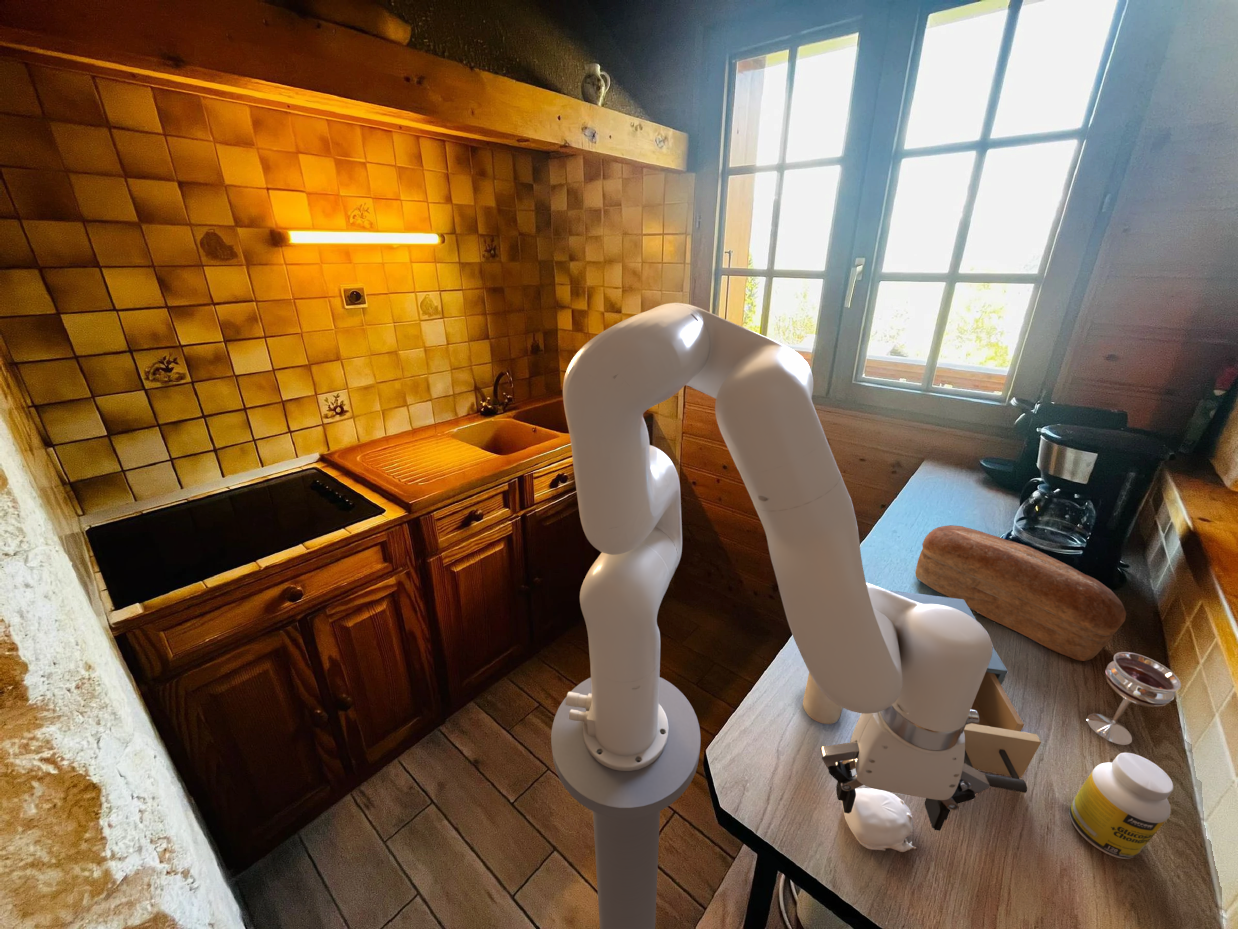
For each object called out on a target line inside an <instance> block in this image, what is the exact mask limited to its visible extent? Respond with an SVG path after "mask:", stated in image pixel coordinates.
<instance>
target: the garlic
mask: <svg viewBox="0 0 1238 929" xmlns="http://www.w3.org/2000/svg"><path fill="white" fill-rule="evenodd" d="M855 791H856V797H855V800H854V804H853V808H852V811H851V813H844V809H843V803H842V802H841V806H842V812H843V816H844V819H845V822H846V824H847V825H848V827H849V829H850V831H851V832H852V834H853V836H854V838H855V839H856V840H857V842H858V843H859V844H860V845H861V846H862V847H864V848H866V849H868V850H875V851H877V850H878V851H882V852H883V851H884V852H885V851H886V849H892V850H894V851H897V852H899V853H905V852H906V851H910V850H911V849H917V847H916V846H914V845H912V844H913V841H910V842H908V840H907V837H909V836H910V835H911V834H912V832H913V829H914V817H913V815H912V811H911V808H909V807H908V805H907V804H906V802H905V800H904V799H901V798H900V797H898V796H897V795H896V793H894V792H888V791H883V790H878V789H874V788H870V787H864V788H863V787H862V788H861V787H858V788H855Z"/></svg>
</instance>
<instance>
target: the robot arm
mask: <svg viewBox="0 0 1238 929" xmlns="http://www.w3.org/2000/svg"><path fill="white" fill-rule="evenodd" d="M812 372H813V371H812V369H811V367H810V365H809V363H808V362H807V360H806V359H804V357H803V356H802V355H801V354H800V353H798V352H797V351H795V350H794V349H792V348H791V347H789V346H787V345H785V344H782V343H780V342H778V341H776V340H774V339H772V338H769V337H768V336H765V335H762V334H760V333H758V332H755V331H754V330H752V329H749V328H746V327H744V326H741V325H739V324H737V323H735V322H733V321H730V320H728V319H726V318H724V317H721V316H719V315H717V314H714V313H712V312H711V311H708V310H705V309H703V308H701V307H698V306H695V305H692V304H688V303H685V302H683V303H682V302H669V303H664V304H659V305H658V306H656V307H653V308H651V309H649V310H646V311H642V312H639V313H637V314H635V315H632V316H630V317H628V318H626V319H623V320H622V321H620V322H617V323H616V324H614V325H612V326H610V327H608V328H606V329H605V330H603V331H601V332H600V333H599V334H597V335H595V336H594V337H593V338H590V340H588V342H586V343H584V345H583V346H582V347H580V348H579V350H578V351H577V352H576V353H575V354H574V356H573V357H572V359H571V361H570V362H569V364H568V366H567V368H566V372H565V374H564V377H563V384H562V401H563V402H562V403H563V408H564V414H565V419H566V425H567V429H568V433H569V434H568V435H569V439H570V445H571V456H572V467H573V474H574V475H573V476H574V482H575V489H576V496H577V504H578V512H579V518H580V524H581V527H582V530H583V531H582V532H584V535H585V537H586V539H587V541H588V542H589V543H590V545H591V546H592V547H593V548H594V549H596V550H597V551H599V552H600V554H599V555H598V556H597V558H596V559H595V561H594V562H593V563H592V565H591V566H590V568H589V570H588V571H587V573H586V575H585V576H584V577H585V578H584V579H583V582H582V584H581V586H580V591H579V604H580V610H581V613H582V616H583V619H584V622H585V625H586V631H587V637H588V638H587V640H588V654H589V665H590V677H591V688H592V694H590V693H589V694H588V696H587V695H581V694H580V693H574V692H571V691H568V692H567V694H566V696H565V698H566V705H567V706H573V707H582V708H586V712H581V711H578V710H573V709H571V710H570V713H569V720H574V721H582V722H584V723H583V735H584V741H585V744H586V747H587V749H588V750H589V752H590V753H591V755H592V756H593V757H594V758H595V759H596V760H597V761H598V762H600V763H601V764H602V765H604V766H606V767H608V768H611V769H614V770H619V771H633V770H638V769H641V768H643V767H646V766H648V765H649V764H651V763H652V762H654V761H655V760H656V759H657V758H658V757H659V756H660V754H661V753H662V752H663V750H664V748H665V746H666V743H667V739H668V728H669V727H668V720H667V717H666V714H665V712H664V710H663V708H662V707H661V705H660V704H659V677H660V675H661V672H660V670H661V631H660V628H659V626H658V614H659V609H660V606H661V604H662V602H663V598H664V596H665V595H666V592H667V590H668V588H669V585H670V582H671V580H672V578H673V576H674V575H675V572H676V570H677V568H678V567H679V564H680V561H681V558H682V554H683V553H682V552H683V525H682V524H683V522H682V521H683V520H682V504H681V503H682V500H681V499H682V498H681V482H680V477H679V474H678V471H677V469H676V466H675V464H674V463H673V461H672V460H671V458H670V457H669V456H668V454H667V453H665V452H664V451H663V450H661V449H660V448H659V447H656V446H655V445H651V444H650V435H649V431H648V427H647V424H646V421H645V418H644V414H645V413H646V412H647V410H650V409H651V408H653V407H654V406H657V405H659V404H661V403H663V402H665V401H667V400H669V399H670V398H672V397H674V396H675V395H677V394H678V393H679V392H680V391H681V390H683V388H684V387H685V386H688V387H690V388H692V389H693V390H696V391H699V392H701V393H703V394H705V395H707V396H709V397H711V398H713V399H715V404H714V414H715V419H716V423H717V426H718V429H719V432H720V434H721V437H722V438H723V440H724V443H725V445H726V447H727V450H728V452H729V454H730V456H731V459H732V460H733V463H734V465H735V467H736V469H737V471H738V473H739V475H740V477H741V479H742V482H743V484H744V486H745V489H746V491H747V493H748V495H749V497H750V499H751V502H752V505H753V508H754V509H755V512H756V514H757V516H758V518H759V520H760V523H761V525H762V527H763V530H764V534H765V536H766V541H767V542H766V543H767V549H768V552H769V557H770V561H771V564H772V568H773V571H774V575H775V579H776V583H777V586H778V592H779V595H780V598H781V602H782V603H781V604H782V606H783V610H784V614H785V617H786V620H787V624H788V627H789V629H790V632H791V635H792V638H793V641H794V642H795V645H796V648H797V649H798V651H799V653H800V656H801V658H802V659H803V662H804V664H805V666H806V668H807V670H808V674H809V673H810V674H811V676H812V678H813V680H814V681H815V683H816V684H817V686H818V687H819V688H820V690H821V691H822V692H823V693H824V694H825V695H826V696H827V697H828V698H829V699H830V700H832V701H833V702H834V703H836V704H837V705H839V706H841V707H843V708H842V709H844V710H847V711H850V712H853V713H857V714H860V715H859V717H858V720H857V722H856V723H855V724H856V725H855V727H854V730H853V731H852V735H851V737H850V741H849V742H844V743H843V742H842V743H836V744H829V745H823V746H821V747H820V755H821V760H822V762H823V763H824V765H825V768H826V769H827V771H828V774H829V775H830V776H831V777H832V778H833V779H835V780H836V781H837V782H836V786H835V790H836V791H835V792H836V797H837V800H838V801H841V804H842V803H843V807H842V810H843V809H844V812H843V814H844V813H851V811H852V808H853V804H854V800H855V797H856V791H855V789H859V788H861V787H862V786H865V787H866V788H874V789H878V790H883V791H887V792H890V793H893V794H899V795H904V796H911V797H917V798H923V799H925V800H924V807H925V809H926V813H927V816H928V819H929V822H930V826H931V828H932V829H933V830H934V831H938V832H940V831H942V828H943V826H944V823H945V821H947V820H948V817H949V815H950V813H951V811H957V810H959V809H960V806H959V804H963V803H966V802H970V801H973V800H975V799H976V795H980V794H981V793H983V792H984V791H986V790H988V789H989V788H990V785H989V783H988V780H987V778H986V776H985V774H984V773H985V772H984V773H982V772H983V771H981V770H976V769H975V768H973V767H971V766H969V765H967V764H965V763H964V756H965V734H964V729H965V726H966V725H968V724H971V723H975V724H978V723H979V714H978V712H977V711H976V710H973V709H971V708H972V705H973V703H974V700H975V698H976V695H977V693H978V690H979V688H980V685H981V683H982V680H983V678H984V675H985V673H986V670H987V668H988V665H989V663H990V660H991V656H992V652H993V648H994V646H993V642H992V641H993V640H992V638H991V637H990V634H989V633H988V631H987V629H986V628H985V627H984V626H983V625H982V624H981V623H980V622H979V621H978V620H977V619H976V620H977V621H976V620H975V619H974V618H972V617H971V616H969V615H967V614H966V613H964V612H962V611H960V610H957V609H955V608H952V607H949V606H945V605H940V604H922V603H919V602H916V601H913V600H911V599H908V598H905V597H903V596H900V595H898V594H895V593H893V592H890V591H891V590H890V591H888V590H889V589H886V588H884V587H880V586H878V585H875V584H873V583H869V582H867V581H866V580H867V579H866V576H865V570H864V565H863V559H862V552H861V543H860V533H859V526H858V522H857V517H856V512H855V508H854V504H853V501H852V498H851V495H850V493H849V491H848V489H847V488H848V487H847V486H846V484H845V481H844V479H843V477H842V476H843V475H842V473H841V471H840V468H839V466H838V464H837V462H836V459H835V456H834V454H833V452H832V449H831V446H830V444H829V441H828V439H827V436H826V434H825V433H826V432H825V431H824V427H823V425H822V423H821V421H820V418H819V415H818V414H817V413H818V412H817V411H816V408H815V405H814V403H813V399H812V397H813V393H814V376H813V373H812ZM992 646H993V647H992ZM853 770H855V772H856V773H855V774H854V775H853V773H852V771H853Z"/></svg>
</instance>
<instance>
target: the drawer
mask: <svg viewBox="0 0 1238 929" xmlns="http://www.w3.org/2000/svg"><path fill="white" fill-rule="evenodd" d="M971 709H973V710H976V711H977V712H978V714H979V723H978V724H975V723H971V724H968V725H966V726H965V729H964V734H965V756H964V763H965V764H967V765H969V766H971V767H973V768H975V769H976V770H978V771H980V772H982V773H984V774H985V776H986V778H987V780H988V783H989V785H990V787H991V788H997V789H1000V790H1007V791H1012V792H1018V793H1022V794H1026V793H1027V792H1028V785H1027V783H1026V781H1025V780H1024V779H1022V778H1023V776H1024V774H1025V773H1026V771H1027V769H1028V767H1029V766H1030V764H1031V762H1032V760H1033V758H1034V757H1035V755H1036V753H1037V752H1038V750H1039V749H1040V746H1041V744H1042V741H1041V739H1040V738H1039V736H1038V733H1031V732H1025V731H1022V730H1023V729H1024V726H1025V724H1024V722H1023V720H1022V718H1021V717H1020V715H1019V713H1018V712H1017V710H1016V708H1015V706H1014V704H1013V703H1012V701H1011V699H1010V698H1009V696H1008V694H1007V693H1006V690H1005V689H1004V687H1003V686H1002V685H1001V684H1000V682H999V680H998V679H997V677H996V675H995V674H994V673H990V672H986V673H985V675H984V678H983V680H982V683H981V685H980V688H979V690H978V693H977V695H976V698H975V700H974V703H973V705H972V708H971ZM990 787H989V788H990Z"/></svg>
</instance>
